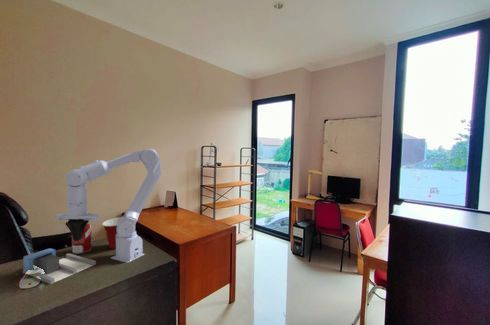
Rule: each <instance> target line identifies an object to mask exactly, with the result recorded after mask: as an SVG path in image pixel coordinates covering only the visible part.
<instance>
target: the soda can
mask: <svg viewBox="0 0 490 325" xmlns="http://www.w3.org/2000/svg"><path fill="white" fill-rule="evenodd" d="M92 230H93V229H92V225H91V224H90V221H89V222H88V223H87V225H86V227H85V229H84V232H83V235H82V239H80V240H78V241H74V239H73V236H72V235H71V254H73V255H79V254H84V253H88V252H90V251H91V250H92V249H93V244H92V243H93V242H92V240H93V238H92V237H93V236H92Z"/></svg>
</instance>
